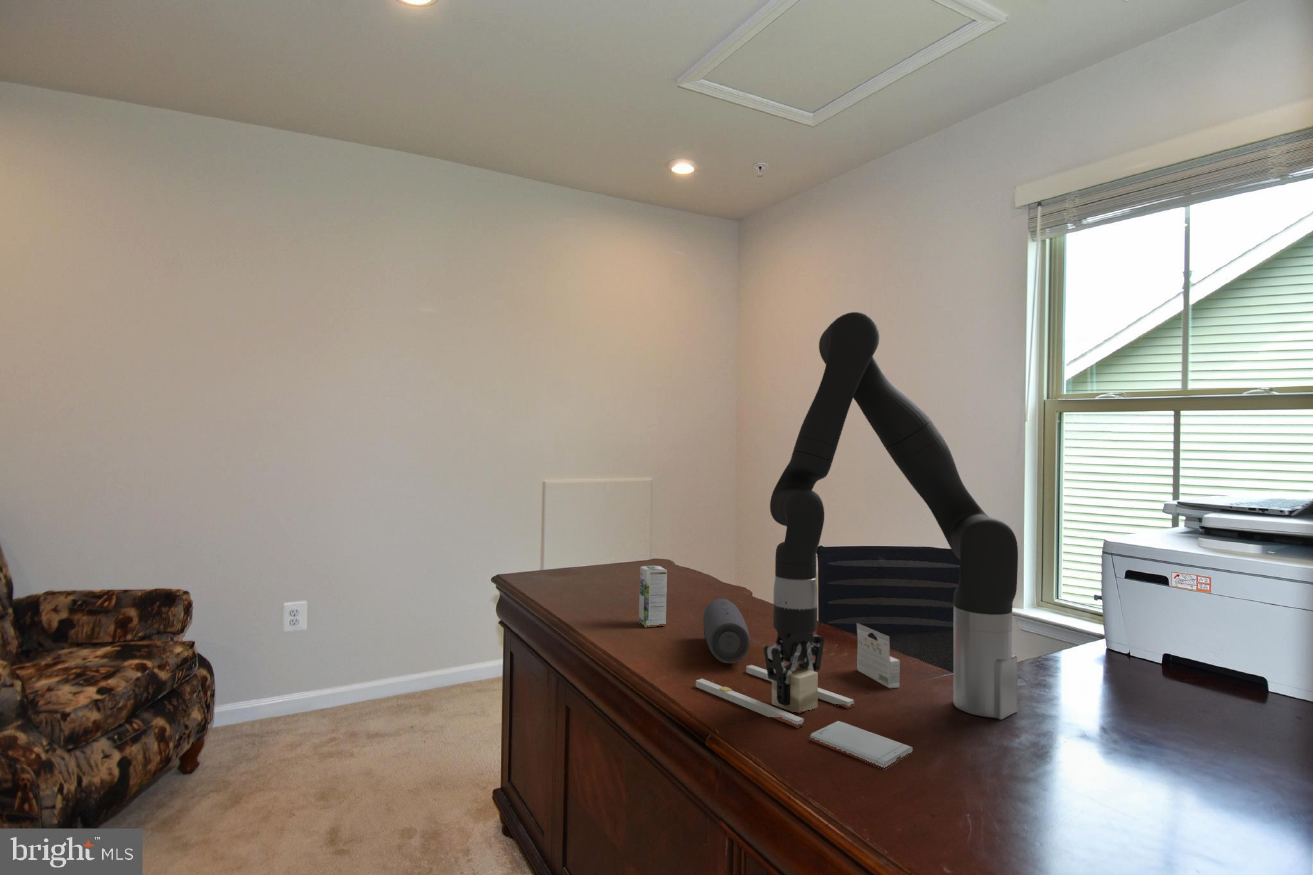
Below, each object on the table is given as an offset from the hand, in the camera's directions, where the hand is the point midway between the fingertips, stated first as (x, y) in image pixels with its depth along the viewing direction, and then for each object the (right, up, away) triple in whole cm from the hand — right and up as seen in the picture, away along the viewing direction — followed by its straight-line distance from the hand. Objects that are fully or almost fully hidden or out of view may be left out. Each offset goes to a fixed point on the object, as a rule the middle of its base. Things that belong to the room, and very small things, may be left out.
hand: (794, 699), depth 118 cm
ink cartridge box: (+19, -2, +15) cm, 24 cm away
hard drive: (+7, -2, -16) cm, 17 cm away
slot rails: (-3, -1, +4) cm, 6 cm away
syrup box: (-25, -2, +54) cm, 59 cm away
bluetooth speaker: (-9, -2, +31) cm, 32 cm away
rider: (0, -1, 0) cm, 1 cm away
